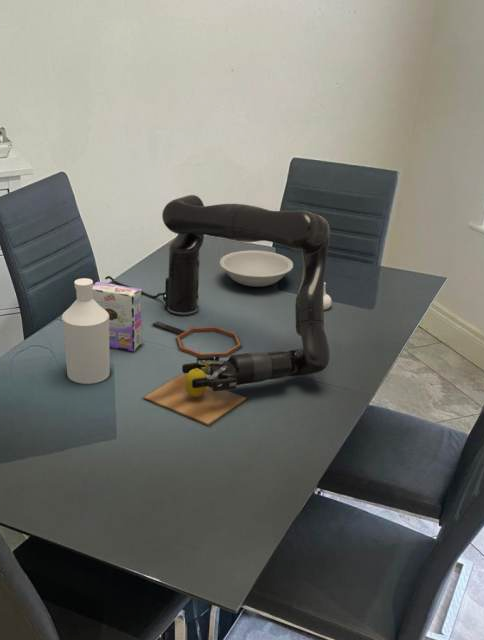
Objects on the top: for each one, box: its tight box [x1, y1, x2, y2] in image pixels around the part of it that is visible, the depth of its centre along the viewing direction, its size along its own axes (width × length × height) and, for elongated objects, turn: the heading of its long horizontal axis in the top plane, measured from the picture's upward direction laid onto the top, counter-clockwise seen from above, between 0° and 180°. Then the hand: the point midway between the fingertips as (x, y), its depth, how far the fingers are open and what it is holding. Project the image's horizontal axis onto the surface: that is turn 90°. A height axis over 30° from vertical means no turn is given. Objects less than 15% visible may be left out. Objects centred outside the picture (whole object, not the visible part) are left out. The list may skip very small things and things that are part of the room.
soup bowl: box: [219, 249, 294, 288], centre depth 244 cm, size 24×24×7 cm
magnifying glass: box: [152, 321, 242, 358], centre depth 213 cm, size 28×17×1 cm, turn 50°
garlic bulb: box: [323, 281, 333, 311], centre depth 228 cm, size 6×6×8 cm
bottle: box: [61, 277, 111, 385], centre depth 189 cm, size 12×12×25 cm
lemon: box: [185, 368, 207, 398], centre depth 183 cm, size 6×6×8 cm
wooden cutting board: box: [143, 373, 247, 426], centre depth 186 cm, size 20×16×1 cm
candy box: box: [92, 281, 143, 352], centre depth 205 cm, size 14×6×16 cm, turn 65°
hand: (187, 376), depth 181 cm, fingers open, 7 cm apart
